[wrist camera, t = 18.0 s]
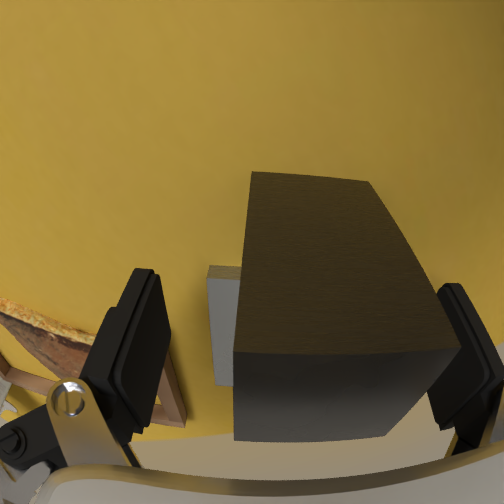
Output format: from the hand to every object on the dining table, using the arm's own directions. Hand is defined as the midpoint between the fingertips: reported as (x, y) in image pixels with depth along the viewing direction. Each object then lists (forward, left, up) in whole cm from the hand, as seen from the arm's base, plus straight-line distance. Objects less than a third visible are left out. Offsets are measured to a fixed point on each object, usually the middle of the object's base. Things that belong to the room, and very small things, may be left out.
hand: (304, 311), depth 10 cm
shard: (+14, +9, -3) cm, 17 cm away
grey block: (0, +3, -3) cm, 4 cm away
